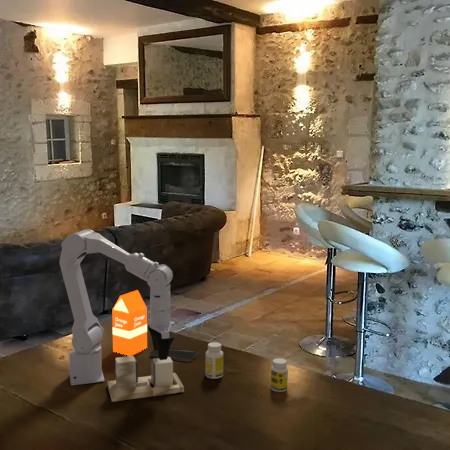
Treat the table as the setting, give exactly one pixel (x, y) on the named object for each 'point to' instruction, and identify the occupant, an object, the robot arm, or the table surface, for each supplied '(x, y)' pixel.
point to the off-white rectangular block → (162, 372)
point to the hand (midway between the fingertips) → (160, 354)
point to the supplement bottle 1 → (214, 361)
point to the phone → (177, 354)
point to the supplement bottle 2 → (279, 375)
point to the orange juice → (129, 324)
